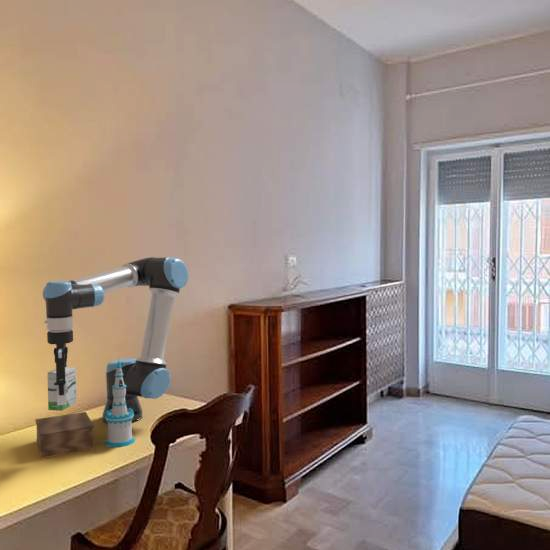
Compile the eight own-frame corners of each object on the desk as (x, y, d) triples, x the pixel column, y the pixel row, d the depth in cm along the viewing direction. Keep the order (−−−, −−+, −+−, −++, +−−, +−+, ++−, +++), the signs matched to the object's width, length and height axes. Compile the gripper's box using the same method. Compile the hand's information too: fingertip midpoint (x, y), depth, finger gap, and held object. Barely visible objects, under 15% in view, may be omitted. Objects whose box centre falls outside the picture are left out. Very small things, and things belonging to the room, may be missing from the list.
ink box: (61, 411, 159) (60, 373, 158) (47, 410, 160) (46, 372, 159) (77, 402, 168) (76, 366, 167) (63, 401, 169) (62, 365, 168)
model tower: (98, 444, 176) (97, 357, 174) (116, 434, 185) (115, 352, 184) (123, 448, 172) (121, 360, 171) (140, 438, 182) (139, 354, 180)
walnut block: (86, 433, 187) (85, 411, 187) (94, 449, 173) (94, 426, 172) (35, 441, 179) (35, 419, 179) (40, 459, 165) (39, 434, 164)
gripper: (49, 325, 171) (52, 391, 173) (44, 337, 150) (47, 412, 152) (73, 323, 174) (75, 388, 175) (72, 335, 153) (74, 409, 155)
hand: (62, 399), depth 164 cm, fingers closed on ink box, 9 cm apart
